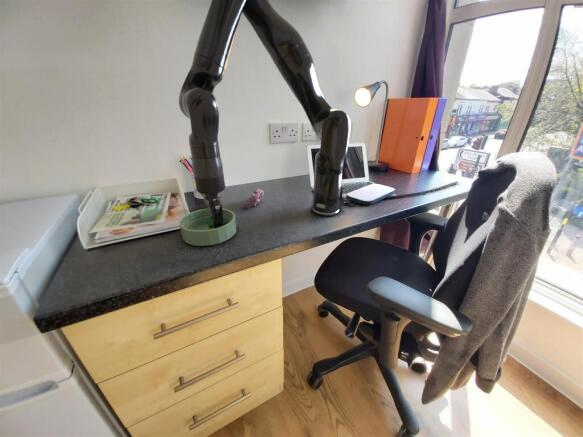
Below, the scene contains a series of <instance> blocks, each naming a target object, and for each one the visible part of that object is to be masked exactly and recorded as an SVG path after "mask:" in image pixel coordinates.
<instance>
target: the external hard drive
mask: <svg viewBox="0 0 583 437" xmlns="http://www.w3.org/2000/svg"><path fill="white" fill-rule="evenodd" d="M395 193H396V189H395V188H394V187H392V186H387V185H384V184H379V183H372V184H371V183H370V184H368V185H366V186H363V187H360V188H358V189H357V188H356V189H354V190H352V191H350V192H347V193H346V195H345V199H346V200H348V201H349V202H350V201H351V202H353V203H355V202H357V204H360V205H364V206H370V205H374V204H375V203H378V202H379V201H382V200H385V199H384V198H385V197H386V196H393V195H394V194H395Z"/></svg>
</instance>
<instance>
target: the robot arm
mask: <svg viewBox="0 0 583 437" xmlns="http://www.w3.org/2000/svg"><path fill="white" fill-rule="evenodd" d="M242 15H243V16H244V17H245V18H246V20H247V21H248V23H249V25H250V26H251V27H252V29H253V30H254V32H255V34H256V35H257V38H258V39H259V41H260V42H261V44H262V46H263V47H264V49H265V50H266V52H267V53H268V55H269V57H270V59H271V60H272V62H273V64H274V65H275V67H276V69H277V70H278V72H279V74H280V75H281V77H282V78H283V80H284V82H285V83H286V85H287V86H288V87H289V90H290V91H291V92H292V94H293V95H294V97H295V98H296V99H297V101H298V103H299V104H300V106H301V107H302V109H303V110H304V112H305V115H306V117H307V119H308V121H309V123H310V125H311V128H312V130H313V131H314V133H315V135H316V136H317V137H318V138H319V139H320V147H319V150H318V152H317V153H316V154H315V158H314V175H313V176H314V177H313V178H314V179H313V198H312V199H313V200H312V212H313V213H314V214H316V215H319V216H322V217H323V216H324V217H333V216H336V215H338V214H339V213H340V212H342V206H344V205H345V203H346V205H347V206H349V207H353V206H355V205H357V204H358V203H357V202H353V203H350V200H348V199H347V198H346V197H345V196H343V195H344V194H343V193H344V186H343V184H342V181H343V170H344V163H345V158H346V156H347V154H348V148H349V142H350V136H351V119H350V117H349V115H348V113H347V112H346V111H344V110H341V109H334V108H332V106H331V105H330V103H329V102H328V101H327V98H326V97H325V95H324V93H323V90H322V89H321V86H320V82H319V78H318V77H319V76H318V73H317V66H316V64H315V61H314V58H313V56H312V53H311V52H310V50H309V47H308V46H307V45H306V43H305V41H304V38H303V36H302V35H301V34H300V32H299V31H298V30H297V29H296V28H295V26H293V25H292V24H291V23H290V22H289V21H288V20H287V19H286V18H284V17H283V16H282V15H281V14H280V13H279V12H277V10H276V9H275V8H274V6H273V5H272V4H271V2H270V0H210V4H209V7H208V10H207V13H206V16H205V19H204V22H203V24H202V26H201V30H200V33H199V37H198V40H197V44H196V47H195V50H194V54H193V58H192V62H191V66H190V68H189V70H188V72H187V75H186V77H185V79H184V81H183V83H182V86H181V89H180V92H179V95H178V106H179V110H180V111H181V113H182V114H183V116H184V117H186V118H187V119H189V120H190V121H189V122H190V130H191V132H190V134H189V135H188V145H189V150H190V156H191V166H192V172H193V178H194V183H195V188H196V189H195V190H196V191H197V193H199V194H200V193H201V194H205V196H204V197H205V201H206V204H205V206H206V205H207V207H206V209H208V211H209V215H210V216H211V215H212V216H211V220H212V222H213V224H214V229H215V228H219V227H221V226H222V222H223V221H224V220H223V210H222V208H223V204H222V202H223V201H222V197H221V196H220V194H219V193H222V192H223V191H225V189H226V182H225V173H224V167H223V161H222V157H221V151H220V143H219V130H220V126H219V125H220V109H219V108H220V107H219V103H218V101H217V98H216V96H215V95H214V91H215V88H216V87H217V86H218V85H219V84H221V82H222V80H223V78H224V77H225V73H226V69H227V66H228V63H229V60H230V56H231V53H232V49H233V45H234V41H235V37H236V34H237V30H238V27H239V23H240V20H241V16H242ZM458 183H459V181H454V182H451V183H447V184H445V185H442V186H440V187H439V186H438V187H435V188H431V189H428V190H423V191H417V192H411V193H404V194H395V195H390V196H386V197H385V198H384V199H383V200H385V199H386V200H387V199H395V198H404V197H411V196H417V195H423V194H428V193H431V192H435V191H439V190H442V189H446V188H448V187H450V186H453V185H456V184H458ZM201 194H200V195H201ZM223 209H224V208H223Z"/></svg>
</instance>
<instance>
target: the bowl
mask: <svg viewBox="0 0 583 437" xmlns="http://www.w3.org/2000/svg"><path fill="white" fill-rule="evenodd" d="M222 210H223V217H224V219H225V221H226V225H224V226H221V227H219V228H215V229H210V230H208V227H207V221H206V220H211V216H212V215H211V216H210V215H209V211H208V209H207V208H203V209H198V210H194V211H191V212H189V213H187V214H185V215H184V216H182V217H181V218H180V220H179V221H178V224H179V230H180V233H181V239H182V240H183V241H184V242H185V243H186V244H189V245H190V246H191V245H192V246H197V247H204V246H206V247H207V246H214V245H218V244H222V243H224V242H226V241H228V240H230V239H231V238H232V237H234V236H235V234H236V233H237V229H238V227H237V218H236V214H235V212H234V211H232V210H230V209H226V208H222Z"/></svg>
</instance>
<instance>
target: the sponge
mask: <svg viewBox="0 0 583 437" xmlns="http://www.w3.org/2000/svg"><path fill="white" fill-rule="evenodd" d="M223 220H224V221H223V222H222V226H224V225H226V221H225V219H224V217H223ZM206 221H207V227H208V230H210V229H214V224H213V222H212V220H206Z"/></svg>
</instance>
